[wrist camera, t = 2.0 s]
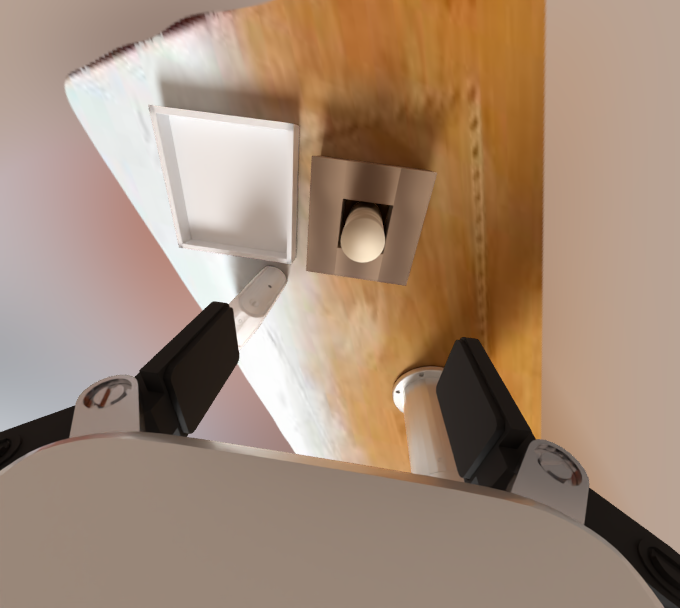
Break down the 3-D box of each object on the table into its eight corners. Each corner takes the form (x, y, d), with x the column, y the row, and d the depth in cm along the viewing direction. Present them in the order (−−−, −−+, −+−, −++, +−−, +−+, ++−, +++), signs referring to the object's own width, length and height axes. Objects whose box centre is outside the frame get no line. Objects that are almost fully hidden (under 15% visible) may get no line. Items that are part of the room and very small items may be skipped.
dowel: (384, 202, 31) (389, 222, 22) (377, 235, 33) (380, 265, 24) (350, 198, 31) (343, 215, 22) (346, 231, 33) (338, 259, 24)
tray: (299, 125, 28) (293, 123, 25) (296, 257, 35) (291, 264, 33) (165, 108, 28) (147, 104, 26) (190, 241, 36) (179, 247, 34)
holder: (427, 169, 28) (437, 172, 24) (401, 269, 35) (406, 285, 30) (320, 155, 29) (311, 155, 24) (314, 256, 35) (306, 270, 31)
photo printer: (268, 258, 36) (225, 302, 25) (293, 278, 37) (262, 328, 26) (234, 304, 40) (186, 358, 30) (257, 320, 42) (218, 377, 31)
